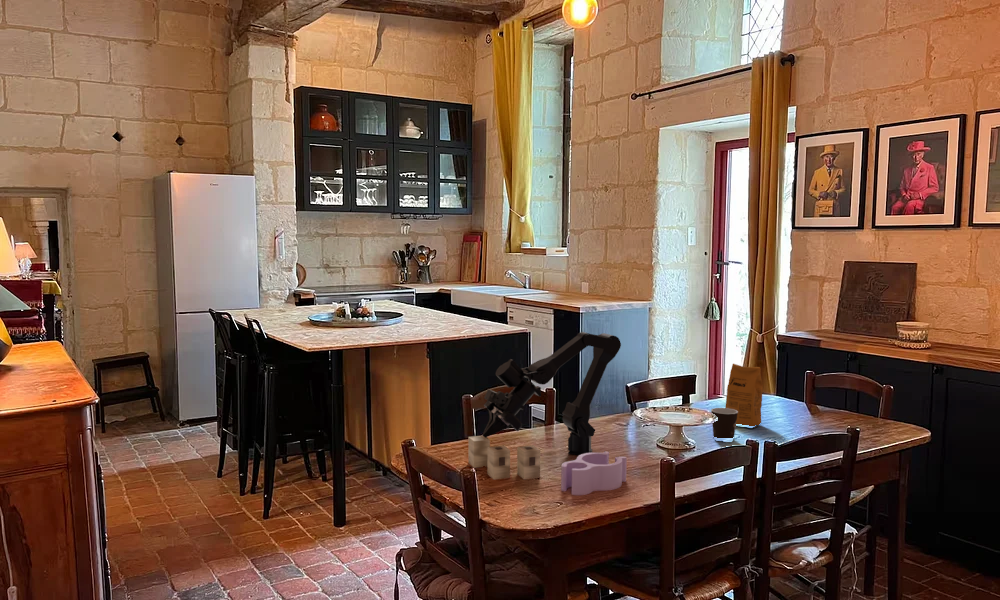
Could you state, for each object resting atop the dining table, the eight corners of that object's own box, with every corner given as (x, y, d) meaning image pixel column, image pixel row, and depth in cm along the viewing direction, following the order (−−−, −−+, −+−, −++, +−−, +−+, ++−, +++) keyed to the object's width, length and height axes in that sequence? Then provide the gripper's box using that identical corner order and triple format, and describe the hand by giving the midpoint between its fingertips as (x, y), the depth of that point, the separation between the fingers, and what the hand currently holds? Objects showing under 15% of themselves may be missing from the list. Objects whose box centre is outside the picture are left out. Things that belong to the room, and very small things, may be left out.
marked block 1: (503, 472, 215) (504, 444, 215) (510, 477, 211) (510, 449, 210) (487, 474, 214) (487, 446, 213) (493, 479, 209) (493, 451, 208)
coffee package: (733, 419, 278) (735, 361, 276) (765, 425, 269) (767, 365, 267) (720, 424, 271) (722, 364, 269) (752, 430, 262) (754, 369, 260)
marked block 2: (533, 472, 216) (533, 444, 215) (540, 477, 211) (540, 449, 210) (517, 474, 214) (517, 446, 213) (524, 479, 209) (524, 451, 208)
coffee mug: (727, 445, 244) (728, 415, 243) (705, 439, 251) (706, 410, 250) (746, 438, 252) (747, 409, 251) (724, 433, 258) (725, 405, 257)
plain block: (484, 461, 226) (484, 435, 225) (489, 465, 221) (489, 439, 220) (468, 462, 224) (468, 436, 223) (473, 467, 219) (473, 441, 219)
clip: (584, 499, 194) (584, 473, 193) (550, 487, 203) (551, 462, 203) (633, 483, 207) (634, 459, 206) (600, 472, 216) (600, 449, 216)
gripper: (490, 374, 232) (456, 412, 229) (512, 386, 214) (476, 427, 211) (513, 397, 235) (480, 434, 232) (537, 410, 218) (501, 451, 215)
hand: (483, 436), depth 222 cm, fingers closed
